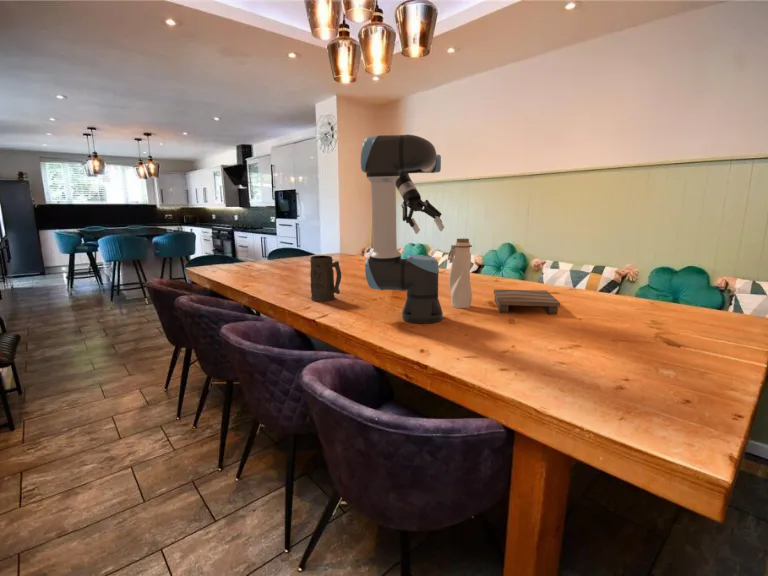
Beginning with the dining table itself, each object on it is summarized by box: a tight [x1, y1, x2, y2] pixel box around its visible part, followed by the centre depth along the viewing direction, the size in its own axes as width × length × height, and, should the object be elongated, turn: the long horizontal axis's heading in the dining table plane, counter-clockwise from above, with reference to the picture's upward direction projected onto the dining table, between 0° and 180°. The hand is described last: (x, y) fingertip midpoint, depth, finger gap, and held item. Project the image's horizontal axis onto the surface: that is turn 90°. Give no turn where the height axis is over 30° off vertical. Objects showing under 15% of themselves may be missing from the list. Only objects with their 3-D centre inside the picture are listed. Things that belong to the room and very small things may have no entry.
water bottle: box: [447, 238, 473, 309], centre depth 160 cm, size 10×9×28 cm
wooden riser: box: [493, 288, 561, 316], centre depth 159 cm, size 22×22×5 cm
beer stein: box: [309, 255, 342, 302], centre depth 175 cm, size 15×11×20 cm
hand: (430, 230), depth 167 cm, fingers open, 13 cm apart
